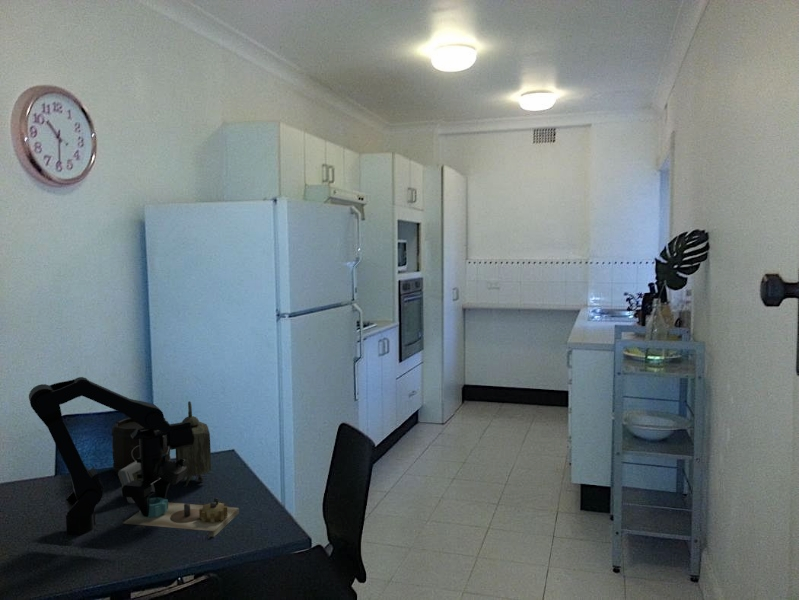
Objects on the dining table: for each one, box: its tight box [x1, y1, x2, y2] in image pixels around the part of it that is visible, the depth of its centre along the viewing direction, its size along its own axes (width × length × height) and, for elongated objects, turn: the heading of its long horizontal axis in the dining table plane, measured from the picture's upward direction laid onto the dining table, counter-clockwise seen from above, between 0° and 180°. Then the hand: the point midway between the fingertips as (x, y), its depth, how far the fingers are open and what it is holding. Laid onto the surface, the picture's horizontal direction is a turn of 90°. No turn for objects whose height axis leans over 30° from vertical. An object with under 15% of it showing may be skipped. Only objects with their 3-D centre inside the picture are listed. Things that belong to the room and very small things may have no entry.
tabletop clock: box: [175, 401, 212, 487], centre depth 192 cm, size 14×9×25 cm, turn 23°
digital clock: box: [117, 461, 155, 504], centre depth 182 cm, size 16×9×11 cm, turn 155°
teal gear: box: [139, 496, 169, 517], centre depth 168 cm, size 7×7×3 cm
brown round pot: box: [110, 417, 172, 477], centre depth 204 cm, size 18×18×16 cm
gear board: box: [122, 497, 240, 538], centre depth 166 cm, size 14×25×6 cm, turn 79°
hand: (154, 510), depth 168 cm, fingers closed on teal gear, 7 cm apart
